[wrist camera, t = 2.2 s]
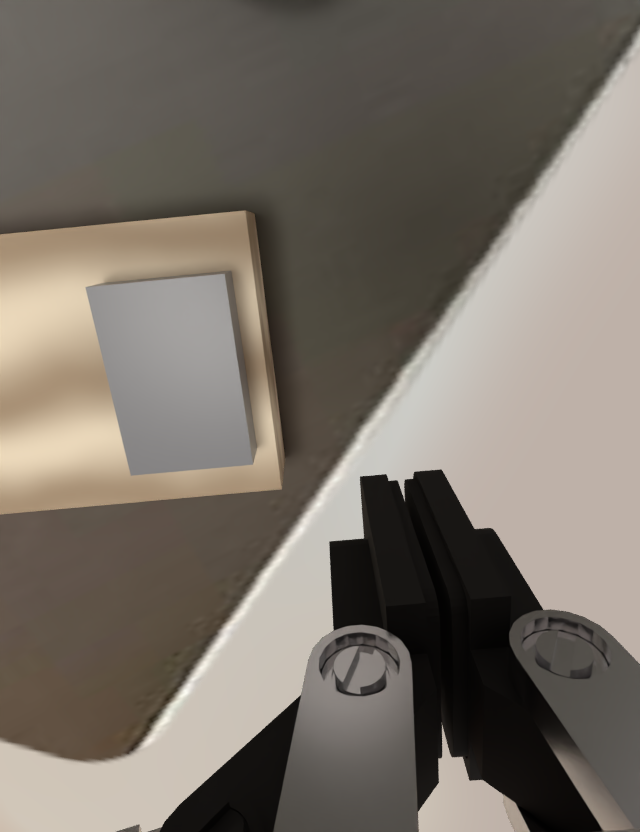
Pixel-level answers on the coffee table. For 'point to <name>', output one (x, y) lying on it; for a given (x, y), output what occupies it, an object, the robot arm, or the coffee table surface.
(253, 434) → the grey rectangular block
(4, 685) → the coffee table surface
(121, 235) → the light wood flat block
